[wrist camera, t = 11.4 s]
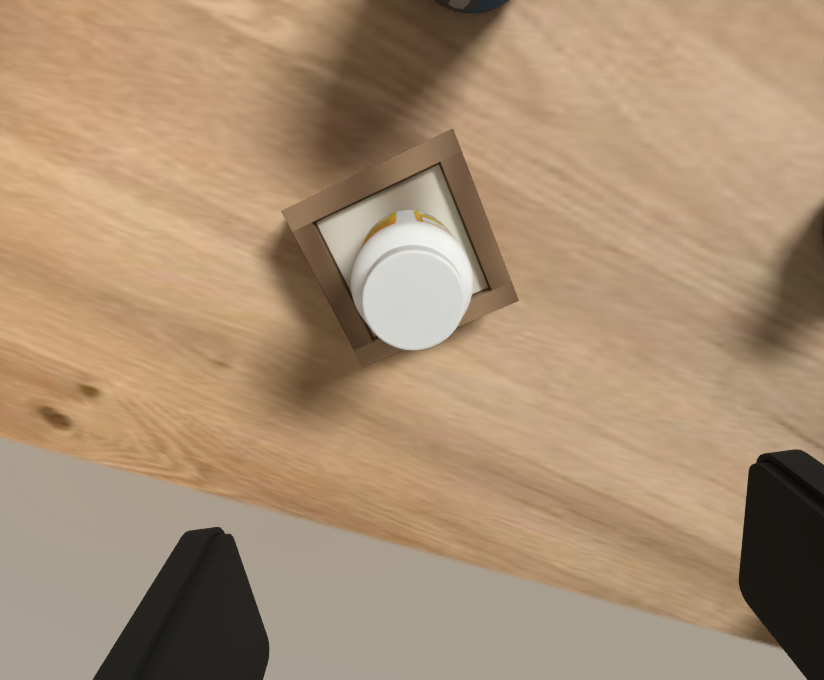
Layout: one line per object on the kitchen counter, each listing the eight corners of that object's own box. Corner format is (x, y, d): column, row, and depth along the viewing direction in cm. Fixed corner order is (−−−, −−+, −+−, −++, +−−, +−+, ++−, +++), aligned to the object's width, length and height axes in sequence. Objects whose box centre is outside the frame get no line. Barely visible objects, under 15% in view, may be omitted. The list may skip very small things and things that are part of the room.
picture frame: (446, 133, 28) (452, 128, 24) (505, 285, 31) (518, 300, 28) (295, 206, 29) (281, 210, 26) (367, 345, 32) (363, 367, 29)
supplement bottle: (367, 306, 28) (350, 373, 19) (356, 213, 26) (333, 236, 17) (458, 299, 28) (486, 362, 19) (454, 205, 26) (482, 224, 17)
